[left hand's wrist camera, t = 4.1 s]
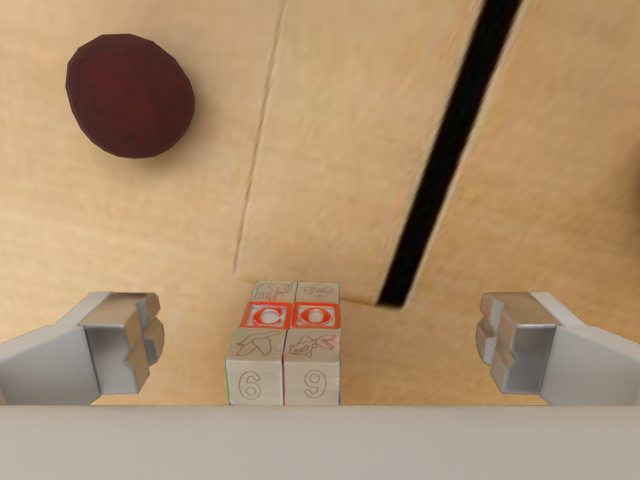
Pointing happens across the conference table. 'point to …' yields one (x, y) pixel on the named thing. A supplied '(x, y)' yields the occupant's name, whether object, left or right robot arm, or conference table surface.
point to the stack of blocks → (287, 346)
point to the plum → (129, 95)
